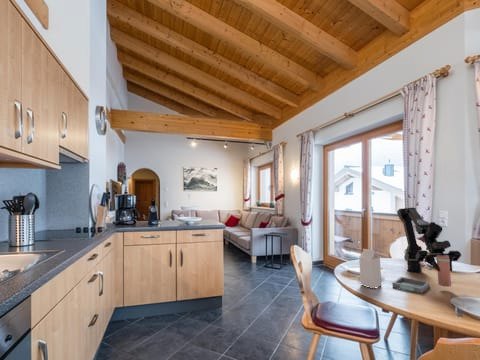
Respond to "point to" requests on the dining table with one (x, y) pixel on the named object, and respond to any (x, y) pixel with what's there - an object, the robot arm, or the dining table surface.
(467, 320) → the dining table surface
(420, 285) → the parts tray
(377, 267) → the milk carton
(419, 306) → the dining table surface
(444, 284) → the cartridge
